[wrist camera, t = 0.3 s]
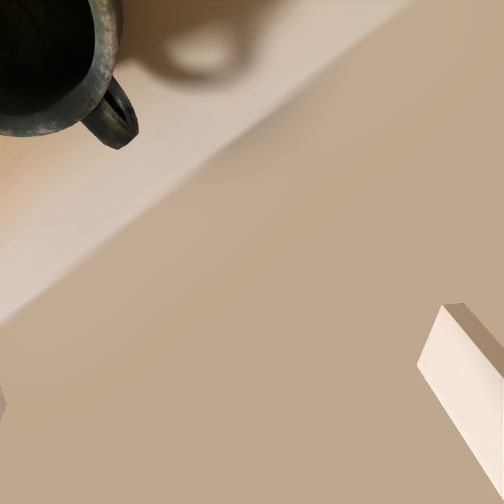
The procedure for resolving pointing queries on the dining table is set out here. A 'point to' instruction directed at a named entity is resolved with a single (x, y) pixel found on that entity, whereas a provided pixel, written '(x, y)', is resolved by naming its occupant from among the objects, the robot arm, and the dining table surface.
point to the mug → (63, 69)
